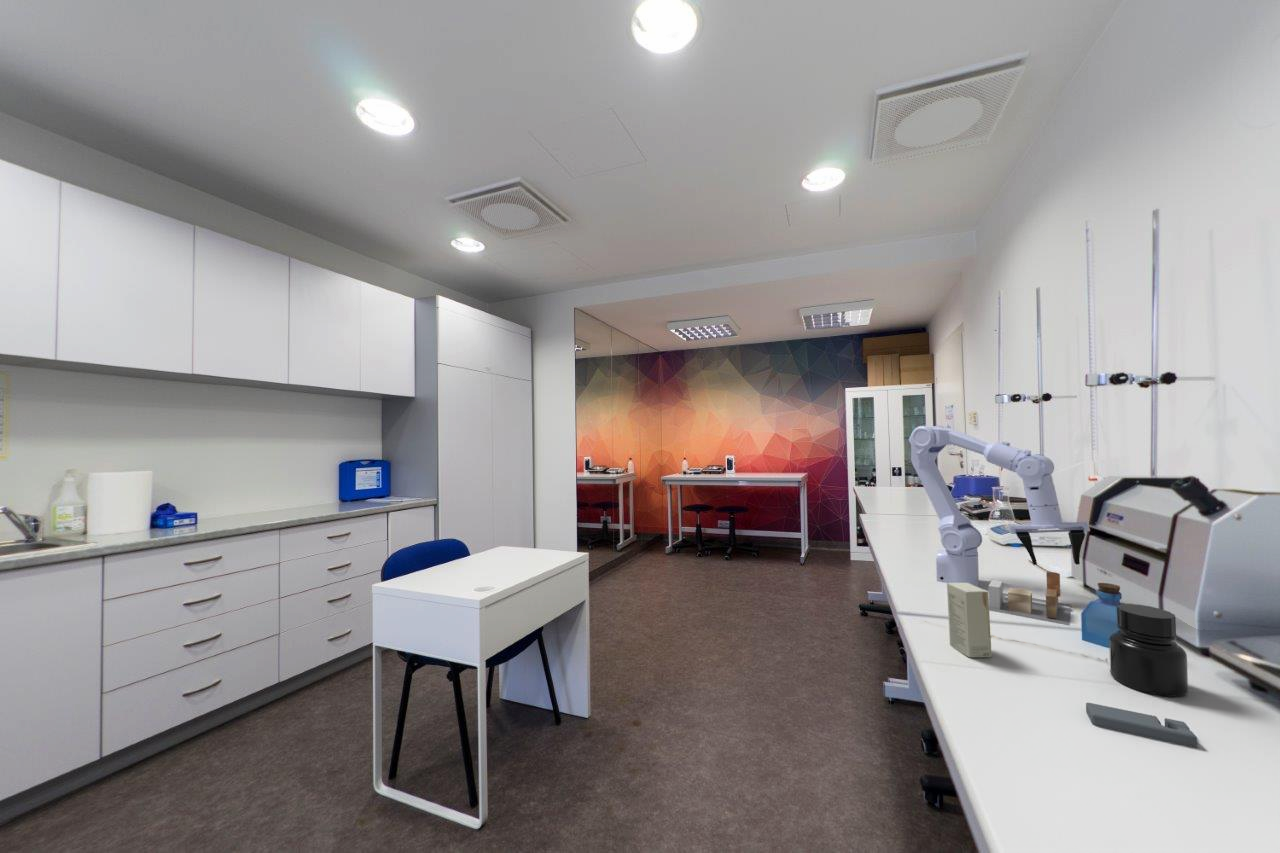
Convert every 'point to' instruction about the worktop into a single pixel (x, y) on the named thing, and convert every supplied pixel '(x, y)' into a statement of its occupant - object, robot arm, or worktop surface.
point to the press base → (1000, 604)
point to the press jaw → (1052, 594)
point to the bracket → (1141, 724)
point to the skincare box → (969, 619)
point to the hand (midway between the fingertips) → (1055, 563)
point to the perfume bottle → (1101, 615)
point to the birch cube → (1020, 600)
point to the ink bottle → (1148, 651)
